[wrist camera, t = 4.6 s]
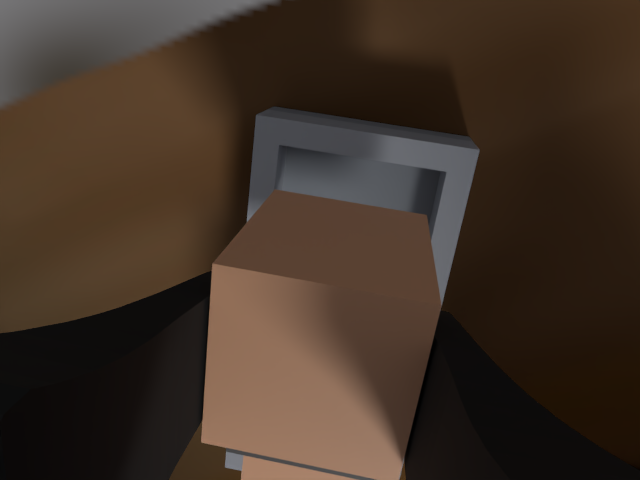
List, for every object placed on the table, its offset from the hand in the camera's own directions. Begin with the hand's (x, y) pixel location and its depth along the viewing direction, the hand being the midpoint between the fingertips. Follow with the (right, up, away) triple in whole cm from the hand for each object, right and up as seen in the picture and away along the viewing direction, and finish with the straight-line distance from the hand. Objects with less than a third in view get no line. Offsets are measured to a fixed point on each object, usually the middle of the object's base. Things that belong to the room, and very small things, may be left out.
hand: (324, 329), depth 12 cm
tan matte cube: (0, +1, +3) cm, 3 cm away
